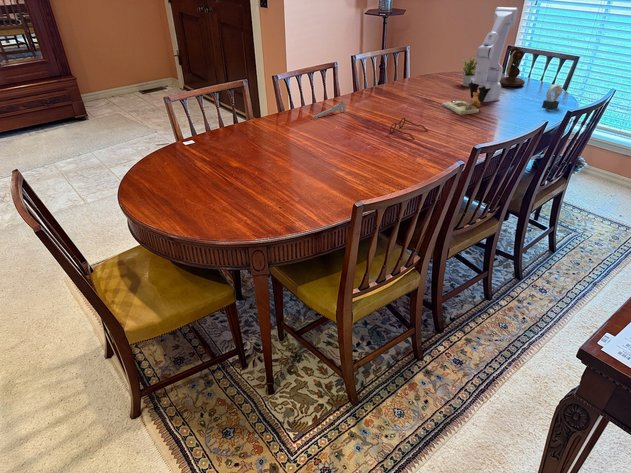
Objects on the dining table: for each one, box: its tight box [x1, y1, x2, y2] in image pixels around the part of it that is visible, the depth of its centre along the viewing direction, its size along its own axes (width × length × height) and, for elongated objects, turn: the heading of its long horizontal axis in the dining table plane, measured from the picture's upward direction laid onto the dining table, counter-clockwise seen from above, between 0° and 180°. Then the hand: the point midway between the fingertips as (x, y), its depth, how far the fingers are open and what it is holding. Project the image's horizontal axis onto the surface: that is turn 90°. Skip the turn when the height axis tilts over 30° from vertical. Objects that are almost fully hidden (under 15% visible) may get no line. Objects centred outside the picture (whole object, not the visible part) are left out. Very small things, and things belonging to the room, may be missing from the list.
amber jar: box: [471, 90, 482, 109], centre depth 221 cm, size 5×5×7 cm
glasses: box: [389, 117, 429, 141], centre depth 195 cm, size 13×13×5 cm
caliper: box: [311, 100, 346, 119], centre depth 219 cm, size 20×1×6 cm, turn 119°
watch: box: [541, 84, 564, 110], centre depth 215 cm, size 6×8×11 cm
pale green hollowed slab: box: [441, 100, 480, 116], centre depth 221 cm, size 10×18×3 cm, turn 15°
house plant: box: [460, 56, 477, 88], centre depth 251 cm, size 14×14×16 cm
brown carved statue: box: [499, 47, 526, 88], centre depth 248 cm, size 15×15×20 cm
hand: (477, 99), depth 221 cm, fingers open, 7 cm apart
